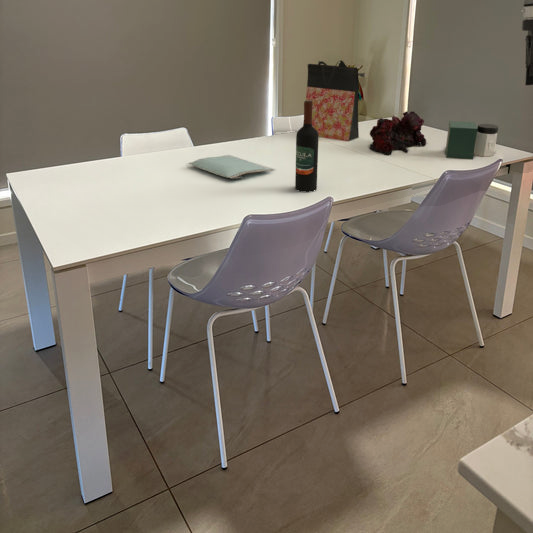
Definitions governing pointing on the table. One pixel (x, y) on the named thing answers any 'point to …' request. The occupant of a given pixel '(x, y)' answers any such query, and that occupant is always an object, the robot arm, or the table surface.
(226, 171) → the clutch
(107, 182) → the table surface
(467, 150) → the tea tin
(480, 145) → the jar
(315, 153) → the wine bottle
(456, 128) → the tin lid
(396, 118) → the flower arrangement
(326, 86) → the gift bag
